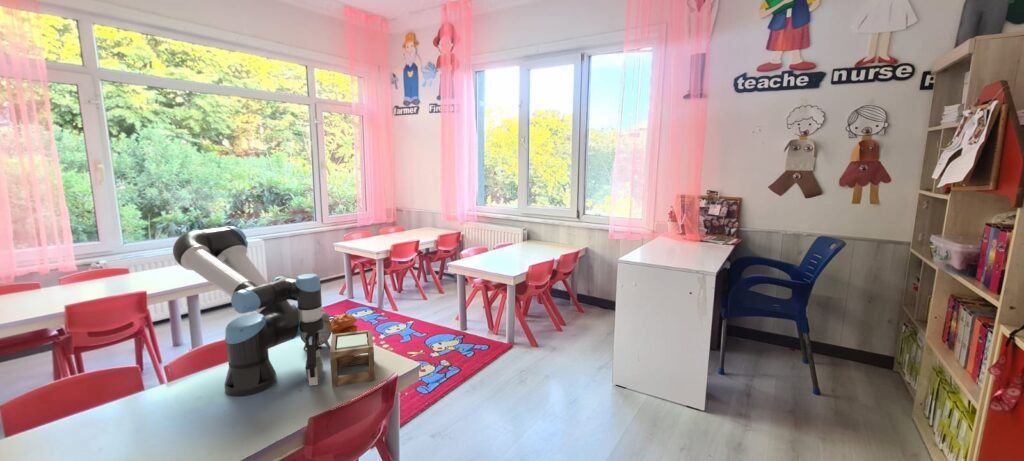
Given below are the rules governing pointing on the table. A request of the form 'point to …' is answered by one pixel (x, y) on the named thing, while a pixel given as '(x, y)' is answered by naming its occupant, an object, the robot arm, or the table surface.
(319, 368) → the grey block
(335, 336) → the frame
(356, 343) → the hatch
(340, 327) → the orange sculpture
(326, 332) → the alarm clock
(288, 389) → the table surface
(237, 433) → the table surface
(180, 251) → the robot arm
